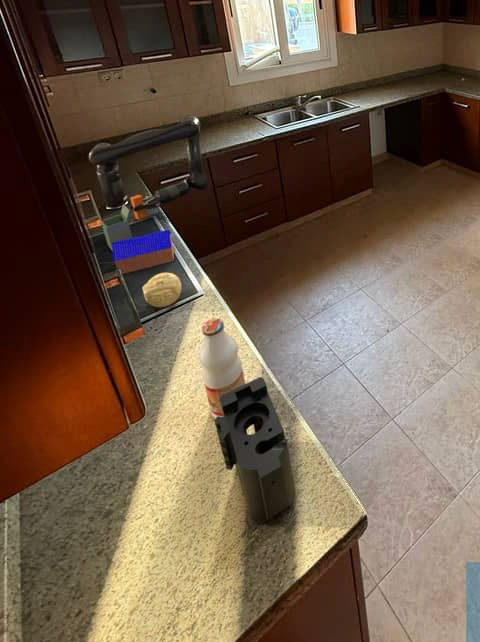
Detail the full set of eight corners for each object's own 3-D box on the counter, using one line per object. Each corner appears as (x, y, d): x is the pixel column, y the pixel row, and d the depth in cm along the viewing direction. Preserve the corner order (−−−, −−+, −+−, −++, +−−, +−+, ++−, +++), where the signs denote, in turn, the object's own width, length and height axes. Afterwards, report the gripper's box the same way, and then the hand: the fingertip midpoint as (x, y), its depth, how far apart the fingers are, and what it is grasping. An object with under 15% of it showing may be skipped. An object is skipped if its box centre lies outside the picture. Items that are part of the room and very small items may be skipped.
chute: (108, 245, 186) (100, 220, 181) (128, 238, 191) (121, 213, 187) (113, 253, 181) (106, 227, 176) (134, 245, 186) (127, 220, 182)
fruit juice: (241, 422, 111) (224, 340, 100) (205, 422, 111) (184, 340, 100) (253, 390, 119) (238, 311, 109) (219, 390, 120) (201, 311, 109)
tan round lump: (146, 316, 146) (139, 291, 142) (149, 294, 156) (142, 270, 152) (183, 306, 151) (177, 281, 147) (184, 286, 161) (178, 262, 157)
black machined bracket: (272, 435, 108) (261, 370, 99) (303, 514, 91) (293, 445, 83) (223, 462, 101) (207, 396, 93) (247, 552, 85) (230, 481, 77)
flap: (123, 204, 186) (124, 204, 186) (120, 212, 186) (121, 212, 187) (129, 210, 181) (130, 210, 181) (126, 218, 181) (127, 218, 182)
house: (175, 260, 175) (169, 236, 171) (118, 275, 167) (110, 250, 162) (174, 246, 185) (168, 222, 181) (120, 259, 177) (113, 235, 172)
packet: (143, 214, 209) (138, 194, 205) (147, 216, 207) (142, 196, 203) (135, 218, 206) (130, 197, 202) (138, 219, 204) (133, 199, 200)
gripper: (158, 184, 218) (122, 197, 204) (173, 191, 210) (137, 205, 197) (161, 197, 220) (126, 211, 207) (176, 204, 213) (141, 219, 200)
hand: (132, 208), depth 202 cm, fingers closed on packet, 3 cm apart
